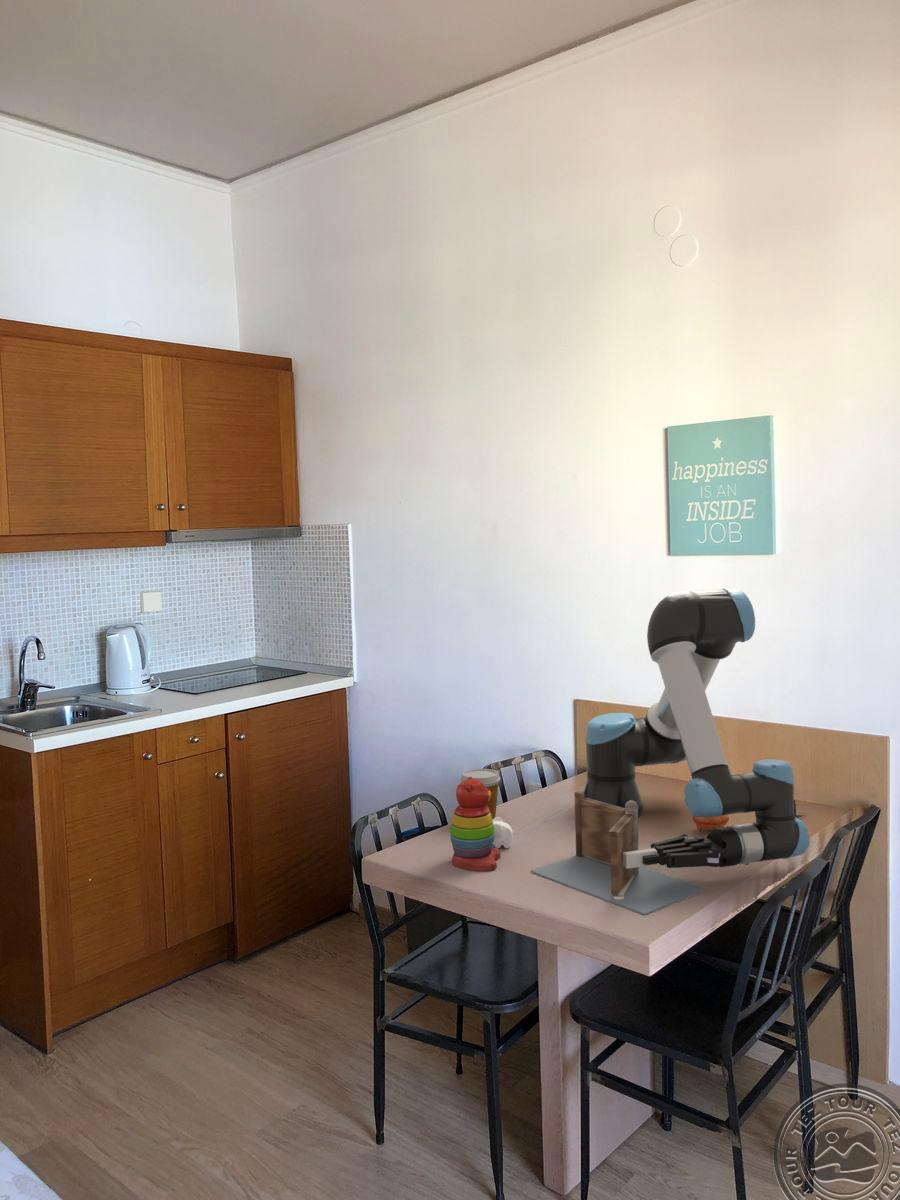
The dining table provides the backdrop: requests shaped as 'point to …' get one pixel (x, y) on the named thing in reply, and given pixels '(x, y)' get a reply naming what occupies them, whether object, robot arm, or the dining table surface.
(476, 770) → the disposable coffee cup
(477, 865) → the stacking bear
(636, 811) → the fixed fence
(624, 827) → the hinged fence panel
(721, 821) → the pot
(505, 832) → the elephant figurine
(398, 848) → the dining table surface
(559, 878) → the card
